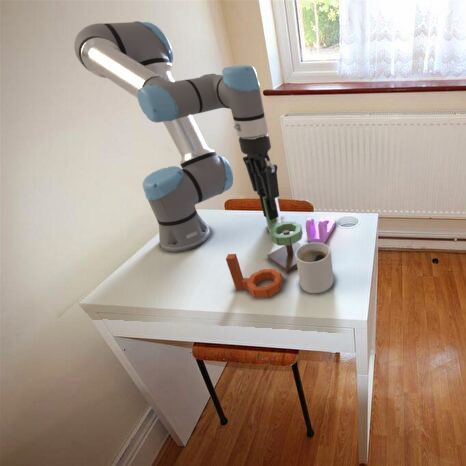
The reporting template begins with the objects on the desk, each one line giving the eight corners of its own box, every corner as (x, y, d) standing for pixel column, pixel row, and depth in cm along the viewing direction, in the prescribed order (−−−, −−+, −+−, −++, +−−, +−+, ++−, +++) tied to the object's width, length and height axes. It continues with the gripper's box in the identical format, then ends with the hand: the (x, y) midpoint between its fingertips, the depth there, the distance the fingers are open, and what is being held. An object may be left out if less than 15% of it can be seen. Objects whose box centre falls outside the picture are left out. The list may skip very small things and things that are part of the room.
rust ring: (284, 275, 90) (277, 244, 84) (278, 297, 83) (271, 264, 77) (241, 277, 90) (232, 246, 85) (232, 299, 83) (221, 267, 77)
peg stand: (267, 259, 97) (261, 232, 91) (294, 244, 102) (290, 218, 97) (287, 273, 90) (281, 245, 85) (315, 257, 96) (311, 230, 91)
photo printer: (281, 232, 109) (274, 199, 102) (268, 233, 109) (260, 200, 102) (282, 217, 118) (276, 185, 111) (270, 218, 117) (263, 187, 110)
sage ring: (308, 236, 92) (302, 203, 86) (283, 249, 87) (276, 215, 81) (283, 222, 99) (277, 190, 94) (259, 233, 95) (251, 201, 89)
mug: (320, 298, 82) (315, 267, 76) (291, 285, 86) (285, 255, 81) (344, 273, 89) (341, 243, 84) (316, 263, 94) (312, 234, 88)
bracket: (324, 243, 102) (321, 224, 98) (307, 241, 104) (304, 222, 100) (337, 222, 112) (335, 204, 109) (322, 220, 114) (320, 202, 110)
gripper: (225, 134, 84) (246, 213, 97) (256, 144, 75) (275, 230, 87) (251, 127, 88) (268, 204, 101) (283, 136, 79) (297, 219, 92)
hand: (271, 216), depth 94 cm, fingers closed on sage ring, 2 cm apart
